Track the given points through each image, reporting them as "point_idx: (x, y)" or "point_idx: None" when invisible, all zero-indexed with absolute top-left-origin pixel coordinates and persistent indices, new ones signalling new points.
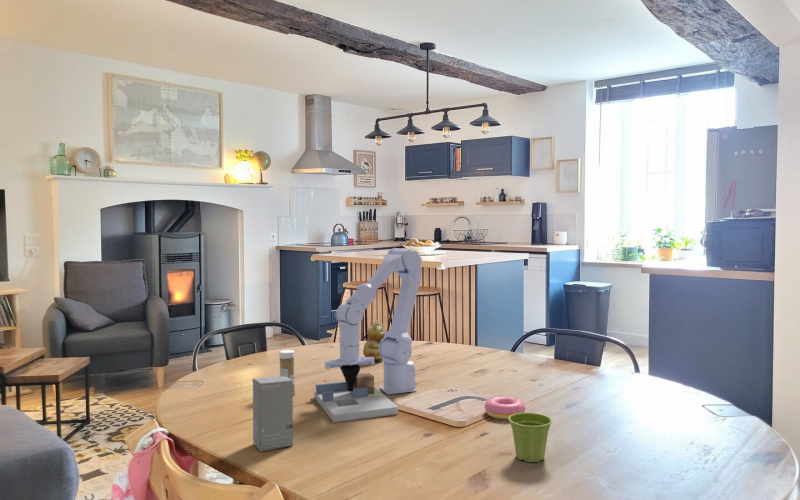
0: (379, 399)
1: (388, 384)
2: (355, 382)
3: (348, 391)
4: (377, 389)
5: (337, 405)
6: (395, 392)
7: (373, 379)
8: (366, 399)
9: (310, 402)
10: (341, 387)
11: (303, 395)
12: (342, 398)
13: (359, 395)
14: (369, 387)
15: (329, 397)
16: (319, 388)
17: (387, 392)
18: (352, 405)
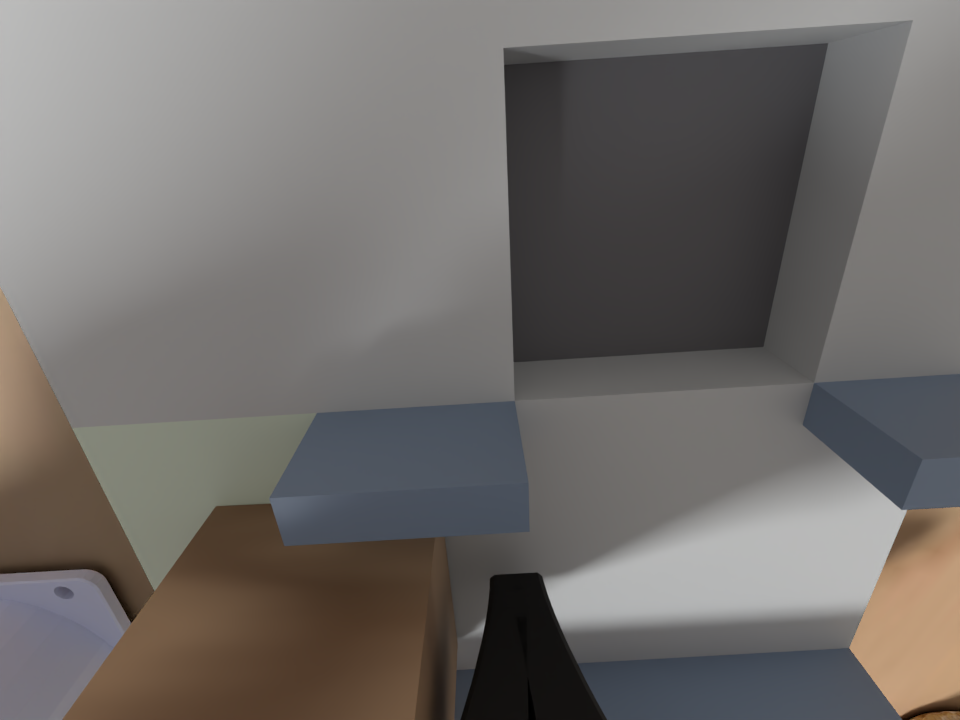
0: (126, 220)
1: (25, 701)
2: (438, 716)
3: None
4: None
5: (893, 108)
6: (1, 581)
7: (79, 714)
8: (345, 291)
9: None
10: None
11: None
12: (665, 433)
13: (432, 421)
14: (238, 576)
15: (916, 403)
16: (856, 708)
17: (91, 596)
18: (655, 8)
